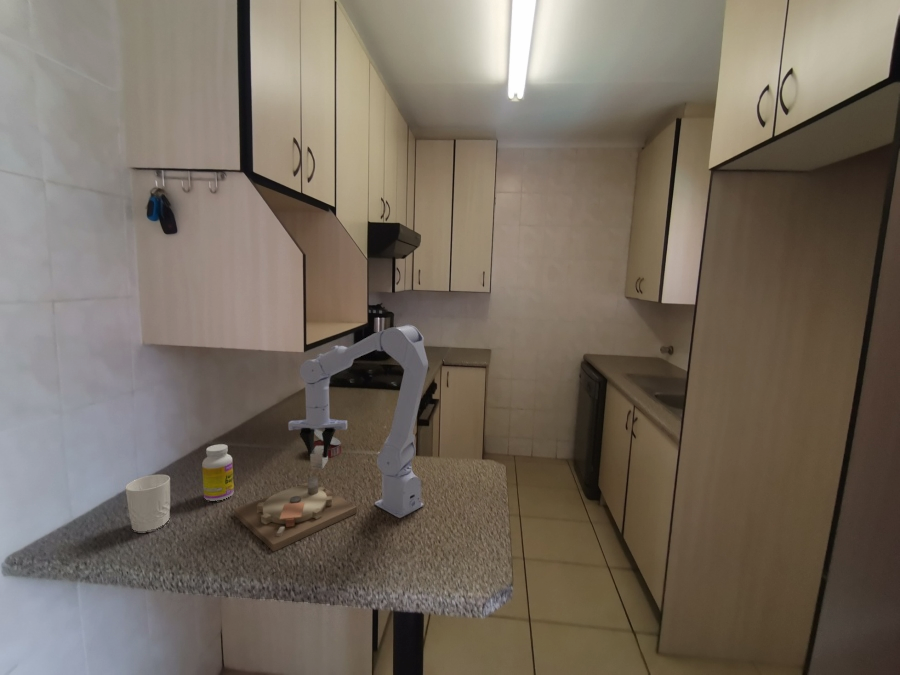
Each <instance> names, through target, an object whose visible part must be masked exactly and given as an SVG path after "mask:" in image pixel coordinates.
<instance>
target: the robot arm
mask: <svg viewBox="0 0 900 675" xmlns="http://www.w3.org/2000/svg"><path fill="white" fill-rule="evenodd" d="M424 340H425V337H424V336H423V334H422V333H421V332H420V330H418V328H417V327H416V326H414V325H411V324H405V325H402V326H396V327H389V328H386V329H384V330H381V331H377V332H375V333H372V334H371V335H369V336H367V337H366V338H363V339H362V340H360V341H358V342H355V343H354V344H352V345H350V346H349V347H347V346H345V345H334V346H331V347H330V349H331V350H329V351H327V352H325V353H319V354H317V355H316V358H314V359H307V360H305V361H304V362H303V363H302V364H301V366H300V368H299V375H300V377H301V379H302V380H303V381H304V385H305V386H304V389H305V414H306V416H305V419H299V420H290V421H288V423H287V424H288V431H293V430H300V432H299V437H300V438H301V440H302V441H303V443H304V445H305V447H306V450H307V453H308V456H309V457H308V458H310V454H311V452H312V451H313V450H314V441H315V434H314V431H315V429H319V430H323V431H322V432H323V433H322V437H323V445H324V451H323V453H324V458H326V457H327V456H328V453H329V447H330V443H331V440H332V437H334V436H335V433H336V430H341V431H346V430H347V429H348V420H344V419H343V420H341V419H333V418H330V384H331V383H330V382H331V381H330V380H331V377H332V376H334V375H336V374H338V373H340V372H343V371H344V370H346V369H348V368H351V367H352V365H353V363H354V361H355V359H358V358H360V357H361V356H364V355H367V354H369V353H371V352H373V351H376V350H377V351H378V352H385V353H386V354H387V355H389V356H390V357H391V358H393V359H394V361H396V362H397V363H399V365H400V366H401V368H402V369H403V375H402V380H401V384H400V389H399V394H398V397H397V402H396V406H395V410H394V414H393V419H392V420H393V421H392V425H391V428H390V433H389V435H388V436H387V438H386V439H385V441H384V443H383V447H382V449H381V450H380V452H378V454H377V457H376V464H377V467H378V469H379V471H380V472H381V490H382V491H381V493H382V495H381V496H382V497H381V499H379V500H377V501H374V505H375V506H377V507H378V508H380V509H382V510H384V511H386V512H387V513H389V514H390V515H393V516H395V517H396V518H399V519H402V518H403V517H405V516H407V515H409V514H411V513H413V512H415V511H416V510H418V509H420V508H422V507H424V503H423V502H422V481H421V479H420V477H418V476H417V475H415V473H414V472H413V468H412V467H413V466H412V460H413V459H414V457H415V456H416V453H417V452H416V450H417V449H416V446H415V440H416V436H415V434H413V433H414V429H415V425H416V420H417V416H418V412H419V408H420V404H421V398H422V394H423V391H424V385H425V382H426V378H427V374H428V373H427V372H428V370H429V361H428V357H427V353H426V349H425V346H424V342H425V341H424Z"/></svg>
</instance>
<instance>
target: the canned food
mask: <svg viewBox="0 0 900 675" xmlns="http://www.w3.org/2000/svg"><path fill="white" fill-rule="evenodd" d="M322 433H323V431H322V430H321V429H315V431H314V436H315V437H317V438H318V440H314V448H315V447H316V446H324V445H323V437H322ZM341 454H342V442H341V441H340V440H339V439H338V438H337V437H335V436H333V437H332V440H331V443H330V447H329V453H328V459H331V458H335V457H337V456H339V455H341Z"/></svg>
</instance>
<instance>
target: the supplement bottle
mask: <svg viewBox="0 0 900 675" xmlns="http://www.w3.org/2000/svg"><path fill="white" fill-rule="evenodd" d="M228 451H229V450H228V445H227V444H223V443H221V444H213V445H210V446H208V447H207V448H206V450H205V453H206V456H207V457H205V458H204V459H203V460H202V463H201V464H202V466H201V467H202V468H201V469H202V480H203V481H202V483H203V484H202V485H203V487H202V489H203V499H204V498H205V499H206V500H210V501H215V500H216V501H217V500H222V501H224V500H223V499H225V500H227V499H229V498H231V497H232V496H233V495H234V492H235V491H234V490H235V485H234V466H233V465H234V464H233V463H234V462H233V457H232V455H230V454H228ZM230 496H231V497H230ZM228 497H229V498H228ZM226 498H227V499H226ZM205 499H204V500H205ZM206 500H205V501H206ZM217 502H218V501H217Z"/></svg>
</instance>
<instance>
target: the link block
mask: <svg viewBox="0 0 900 675" xmlns="http://www.w3.org/2000/svg"><path fill="white" fill-rule="evenodd" d="M323 451H324V446H316V447H315V448H314V450H313V451H312V452H311V454H310V457H309V459H310V463H309V464H310V470H323V469H324V467H325V465H326V464H327V462H328V461H329V458H328V456H327V457H326V458H324V453H323Z"/></svg>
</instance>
